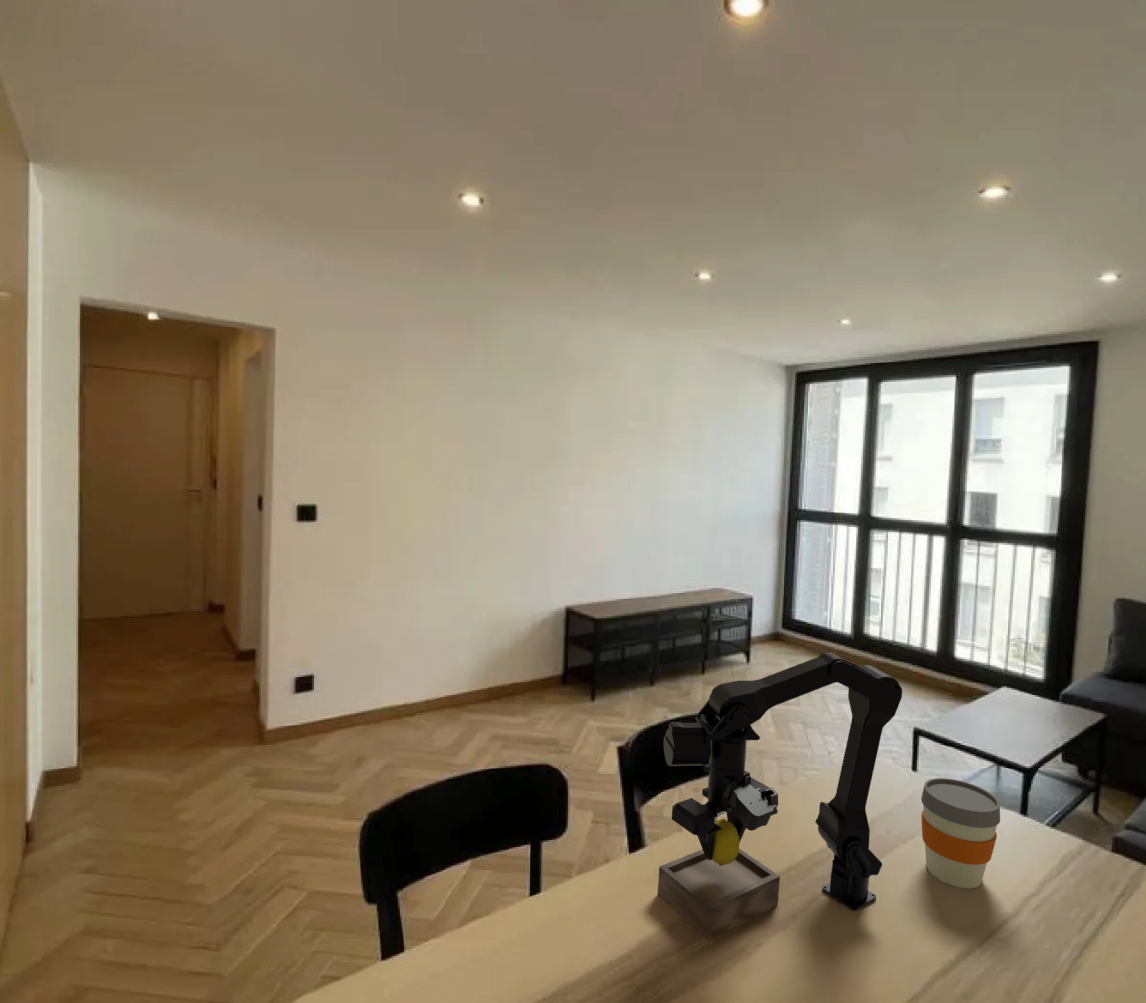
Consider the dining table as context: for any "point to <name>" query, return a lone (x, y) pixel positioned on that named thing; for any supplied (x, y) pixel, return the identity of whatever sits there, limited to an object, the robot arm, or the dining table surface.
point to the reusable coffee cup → (958, 830)
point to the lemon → (725, 843)
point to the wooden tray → (717, 890)
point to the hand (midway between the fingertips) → (721, 853)
